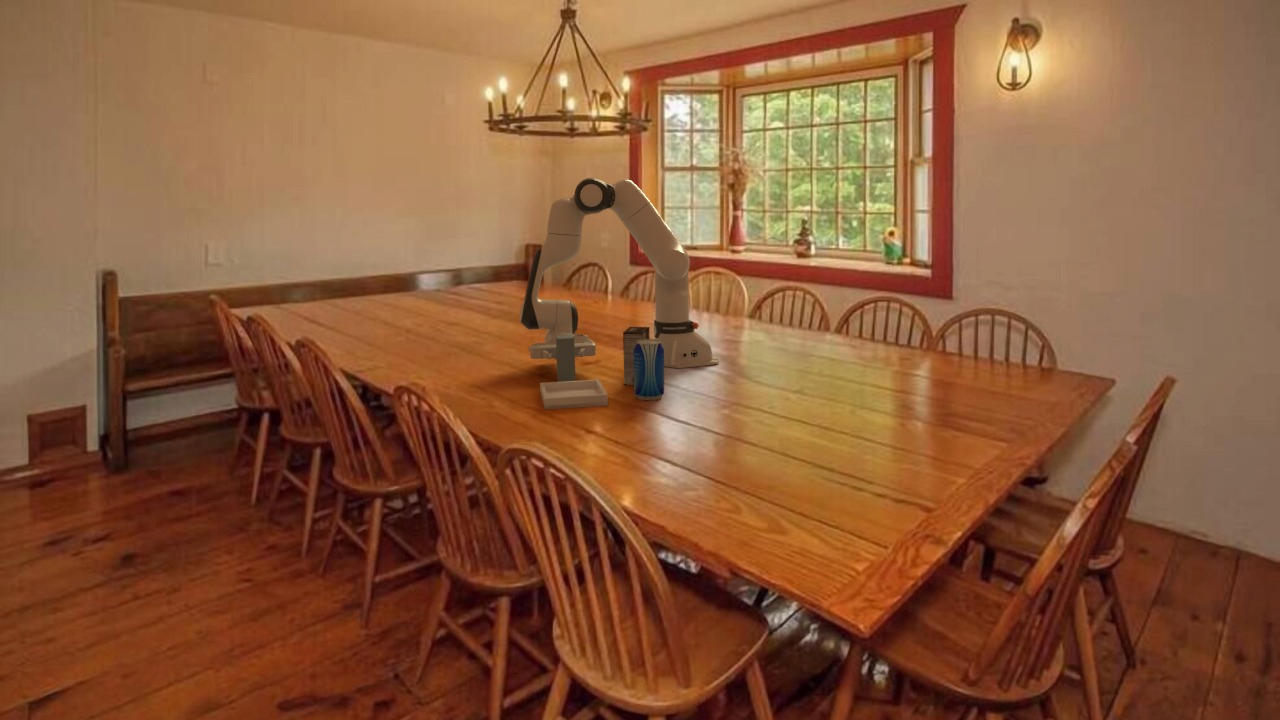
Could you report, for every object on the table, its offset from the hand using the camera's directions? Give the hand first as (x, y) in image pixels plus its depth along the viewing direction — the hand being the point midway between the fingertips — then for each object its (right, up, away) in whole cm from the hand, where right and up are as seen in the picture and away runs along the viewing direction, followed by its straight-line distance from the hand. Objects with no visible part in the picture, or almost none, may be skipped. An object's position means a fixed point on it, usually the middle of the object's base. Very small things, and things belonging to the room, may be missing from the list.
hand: (565, 355), depth 237 cm
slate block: (0, -8, +1) cm, 8 cm away
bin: (+4, -12, -18) cm, 22 cm away
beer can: (+25, -12, -17) cm, 33 cm away
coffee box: (+22, -8, +1) cm, 23 cm away
